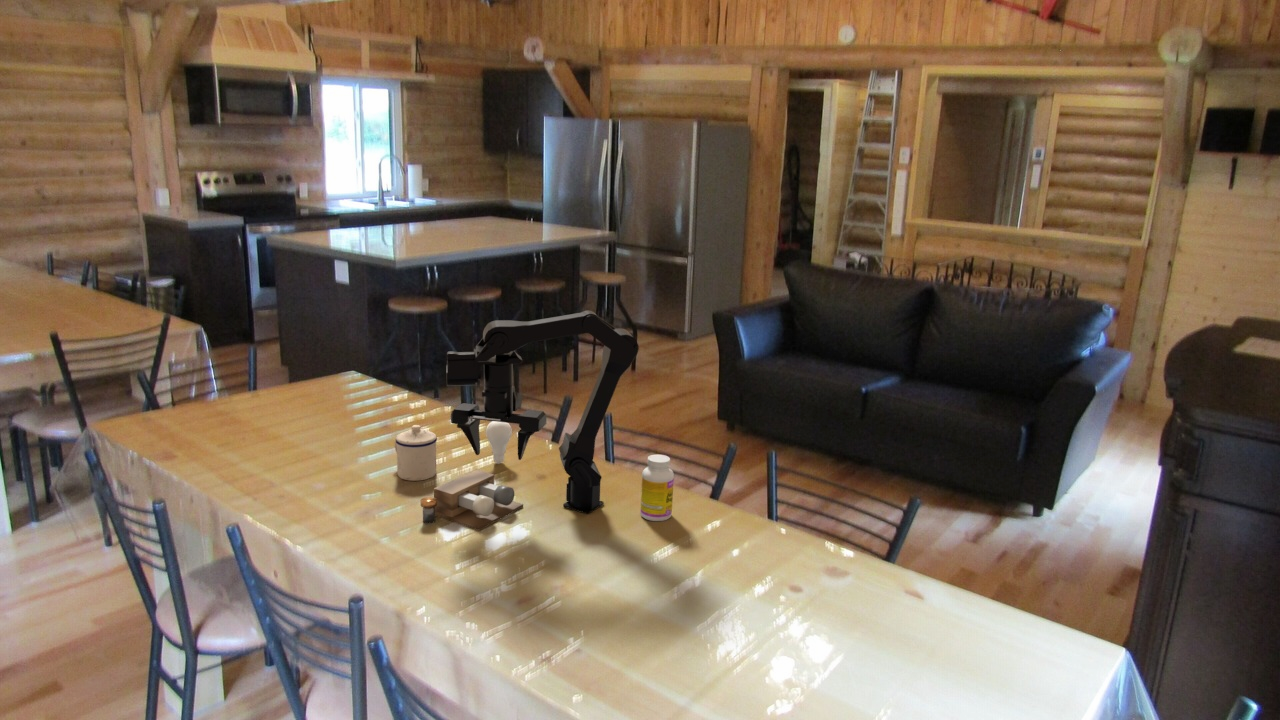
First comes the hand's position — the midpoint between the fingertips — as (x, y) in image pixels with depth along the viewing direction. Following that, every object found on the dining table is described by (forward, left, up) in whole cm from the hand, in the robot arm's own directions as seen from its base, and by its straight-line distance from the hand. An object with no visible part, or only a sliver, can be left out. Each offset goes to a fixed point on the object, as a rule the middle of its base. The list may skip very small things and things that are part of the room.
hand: (499, 456), depth 178 cm
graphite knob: (+2, -1, -10) cm, 11 cm away
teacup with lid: (+29, -4, -12) cm, 32 cm away
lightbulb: (+17, -20, -12) cm, 29 cm away
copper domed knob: (+8, +12, -12) cm, 19 cm away
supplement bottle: (-28, -17, -12) cm, 35 cm away
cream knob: (+2, +6, -10) cm, 12 cm away
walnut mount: (+4, +3, -12) cm, 13 cm away
